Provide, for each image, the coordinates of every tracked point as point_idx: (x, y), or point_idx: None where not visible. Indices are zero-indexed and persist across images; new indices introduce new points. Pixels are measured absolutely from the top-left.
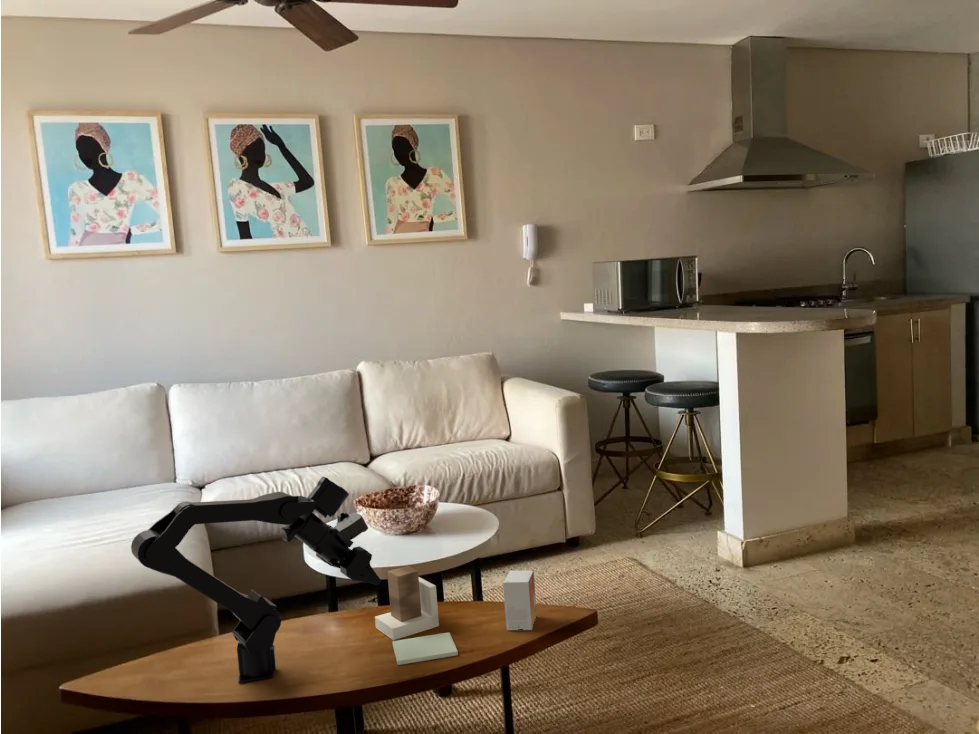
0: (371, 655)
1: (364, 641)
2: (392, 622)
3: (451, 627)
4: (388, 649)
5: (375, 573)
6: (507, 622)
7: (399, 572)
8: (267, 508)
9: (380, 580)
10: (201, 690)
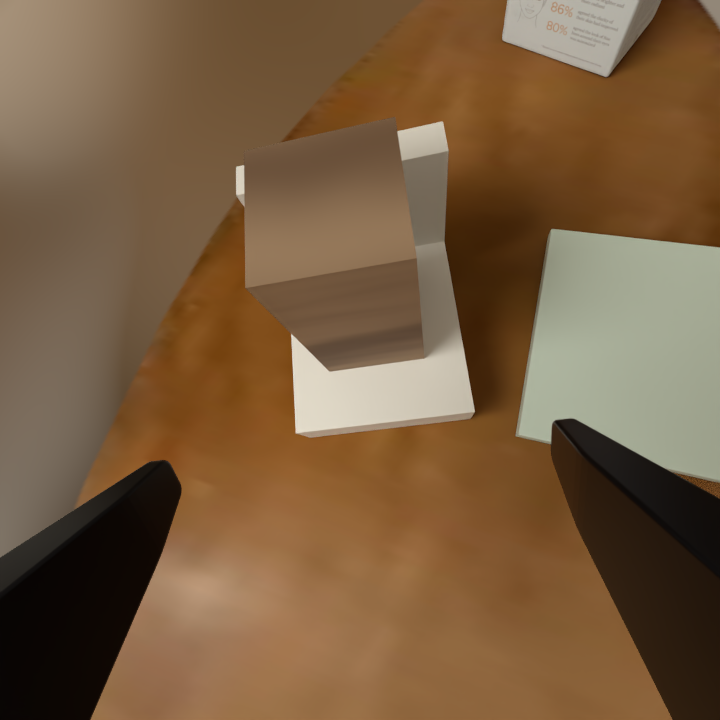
0: (573, 548)
1: (411, 522)
2: (406, 389)
3: (474, 211)
4: (548, 464)
5: (692, 489)
6: (621, 48)
7: (335, 223)
8: None
9: (580, 425)
10: None
